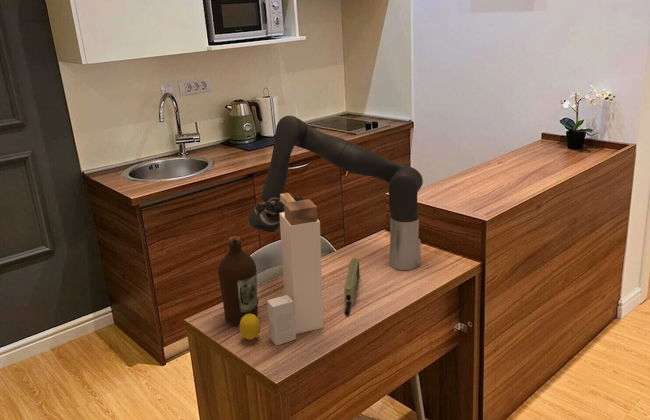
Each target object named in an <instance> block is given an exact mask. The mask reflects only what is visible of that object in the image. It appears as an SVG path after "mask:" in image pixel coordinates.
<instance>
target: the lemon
mask: <svg viewBox="0 0 650 420" xmlns="http://www.w3.org/2000/svg"><path fill="white" fill-rule="evenodd" d="M239 332H240V334H241V336H242V337H243V338H244V339H246V340H250V341H252V340H253V339H255V338H257V337H258V336H259V334H260V333H261V322H260V320H259V318H258V317H256V316H255V315H253V314H246V315H245V316H243V317H242V319H241V321H240V326H239Z"/></svg>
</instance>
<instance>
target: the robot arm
mask: <svg viewBox="0 0 650 420" xmlns="http://www.w3.org/2000/svg"><path fill="white" fill-rule="evenodd" d="M274 134H275V135H274V143H273V147H272V154H271V157H270V158H271V159H270V164H269V167H268V171H267V175H266V178H265V181H264V184H263V188H262V191H261V194H260V200H261V201H262V202H263V203H262V204H261V203H257V204H255V206H254V208H253V209H251V211H250V213H249V215H248V224H249V226H250V227H252V228H253V229H257V230H260V231H263V232H268V233H275V232H276V231H277V230H278V229H279V228H280V227H279V226H280V214H279V213H282V212H285V211H284V204H283V203H282V202H281V201H280V194H283V193H285V190H286V187H287V182H288V181H287V180H288V174H289V165H290V158H291V155H292V152H293V149H294V148H295V147H298V148H301V149H303V150H306V151H310V152H311V153H314V154H316V155H318V156H319V157H321V158H322V159H323V160H325V161H327V162H328V163H330V164H331V165H333V166H334V167H337V168H340V169H341V170H344V171H346V172H348V173H351V174H354V175H358V176H365V177H374V178H377V179H380V180H382V181H384V182H387V184H388V209H389V213H390V232H389V233H390V234H389V235H390V236H389V237H390V239H389V241H390V242H389V265H390V266H391V267H392V269H395V270H399V271H411V270H414V269H416V268H417V267H418V266H420V264H421V244H422V243H421V242H422V240H421V239H420V238H419V230H420V229H419V228H420V227H419V225H420V209H419V208H418V192H419V191H420V190H421V188H422V187H423V184H424V183H423V182H424V180H423V175H422V174H421V172H419V170H417V169H416V168H415V167H411V166H409V165H406V164H402V163H400V162H397V161H393V160H391V159H388V158H386V157H384V156H381V155H379V154H377V153H376V152H373V151H371V150H369V149H366V148H365V147H363V146H360V145H359V144H356V143H354V142H351V141H350V140H347V139H344V138H342V137H338V136H334V135H331V134H326V133H325V132H321V131H320V130H318V129H317V128H315V127H313V126H311V125H309V124H308V123H306V122H305V121H304V120H301V119H300V118H298V117H296V116H295V115H285V116H283V117H282V118H280V119H279V120H278V122H277V124H276V127H275V133H274ZM293 199H294V200H295V201H301V200H304V196H303V197H302V196H299V195H298V196H295V197H293Z"/></svg>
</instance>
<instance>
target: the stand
mask: <svg viewBox="0 0 650 420" xmlns="http://www.w3.org/2000/svg"><path fill="white" fill-rule="evenodd" d="M279 214H280V224H279V226H280V227H279V229H280V242H281V243H280V244H281V245H280V246H281V260H282V261H281V263H282V264H281V265H282V277H283V278H282V279H283V281H282V282H283V294H284V295H288V296H289V297H290V298H291V299H292V300H293V303H294V318H295V333H296V335H297V334H302V333H306V332H311V331H315V330H319V329H320V330H321V329H324V314H323V313H324V309H323V280H322V279H323V277H322V276H323V275H322V274H323V273H322V251H321V250H322V247H321V246H322V245H321V241H322V240H321V222H320V220H319V219H318V218H317V221H316V222H310V223H304V224H297V225H291V224H290V223H289V222H288V221H287V219H286V218H285V212H282V213H279ZM284 295H283V296H284Z"/></svg>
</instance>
